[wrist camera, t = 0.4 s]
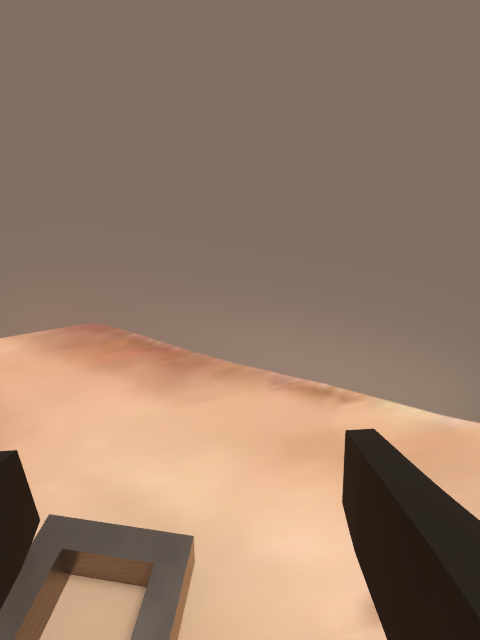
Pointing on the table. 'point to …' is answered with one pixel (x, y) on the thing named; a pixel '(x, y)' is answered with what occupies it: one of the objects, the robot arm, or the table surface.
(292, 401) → the table surface
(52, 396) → the table surface
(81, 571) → the grey metal slotted frame
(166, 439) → the table surface
